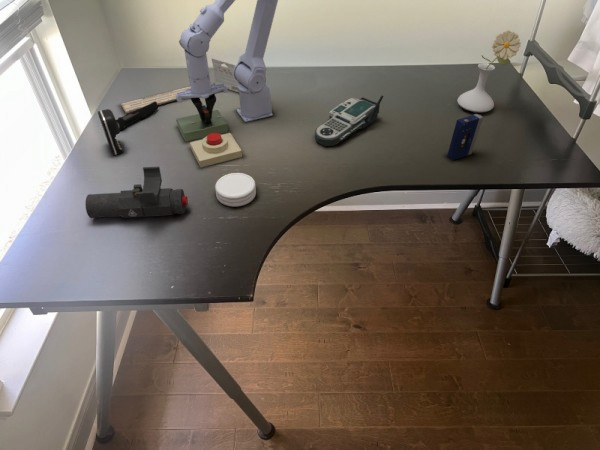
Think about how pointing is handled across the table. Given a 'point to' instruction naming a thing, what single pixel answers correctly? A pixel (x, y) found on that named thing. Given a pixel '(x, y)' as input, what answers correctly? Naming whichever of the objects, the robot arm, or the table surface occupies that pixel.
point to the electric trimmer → (136, 115)
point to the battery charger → (110, 130)
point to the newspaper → (151, 100)
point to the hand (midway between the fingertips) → (206, 118)
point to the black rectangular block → (206, 115)
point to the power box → (215, 151)
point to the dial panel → (201, 126)
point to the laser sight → (139, 199)
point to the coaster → (235, 189)
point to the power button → (214, 139)
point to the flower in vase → (478, 97)
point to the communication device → (347, 120)
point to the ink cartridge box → (225, 75)
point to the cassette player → (464, 136)
